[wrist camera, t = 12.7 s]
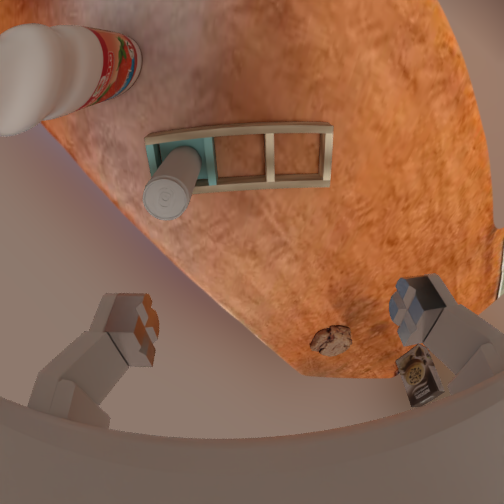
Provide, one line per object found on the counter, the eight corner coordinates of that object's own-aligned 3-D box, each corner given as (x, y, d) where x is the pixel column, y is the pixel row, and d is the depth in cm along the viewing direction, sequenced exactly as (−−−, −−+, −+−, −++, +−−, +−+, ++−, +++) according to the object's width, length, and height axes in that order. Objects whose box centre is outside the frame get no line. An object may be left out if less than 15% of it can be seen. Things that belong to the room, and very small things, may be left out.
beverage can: (206, 149, 36) (193, 184, 26) (197, 181, 38) (182, 226, 29) (172, 140, 34) (145, 172, 25) (164, 173, 37) (138, 215, 27)
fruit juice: (108, 22, 23) (-69, 13, 1) (158, 54, 27) (-10, 54, 5) (70, 79, 27) (-101, 145, 5) (116, 111, 31) (-46, 214, 9)
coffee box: (418, 343, 67) (438, 390, 54) (427, 347, 69) (446, 391, 56) (394, 361, 71) (410, 407, 58) (404, 364, 74) (420, 408, 61)
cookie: (329, 354, 66) (331, 364, 64) (301, 341, 62) (303, 352, 59) (361, 333, 62) (364, 343, 59) (334, 317, 57) (338, 328, 55)
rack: (149, 133, 34) (144, 138, 32) (327, 122, 34) (333, 126, 32) (159, 190, 39) (155, 197, 37) (324, 180, 39) (329, 187, 37)
